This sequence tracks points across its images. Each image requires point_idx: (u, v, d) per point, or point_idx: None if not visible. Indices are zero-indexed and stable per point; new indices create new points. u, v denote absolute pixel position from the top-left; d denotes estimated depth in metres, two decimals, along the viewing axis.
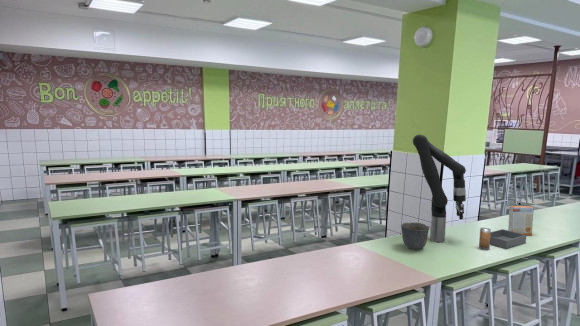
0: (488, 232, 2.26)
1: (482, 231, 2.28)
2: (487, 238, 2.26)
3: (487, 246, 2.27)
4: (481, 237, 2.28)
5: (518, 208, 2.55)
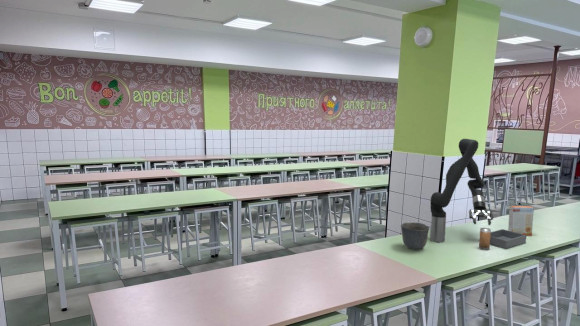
0: (488, 232, 2.26)
1: (482, 231, 2.28)
2: (487, 238, 2.26)
3: (487, 246, 2.27)
4: (481, 237, 2.28)
5: (518, 208, 2.55)
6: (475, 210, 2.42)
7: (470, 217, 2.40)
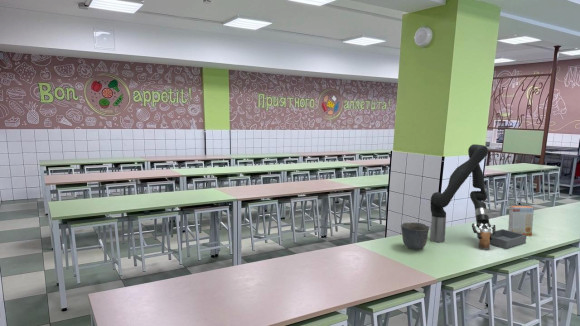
0: (488, 232, 2.26)
1: (482, 231, 2.28)
2: (487, 238, 2.26)
3: (487, 246, 2.27)
4: (481, 237, 2.28)
5: (518, 208, 2.55)
6: (478, 223, 2.34)
7: (474, 232, 2.32)
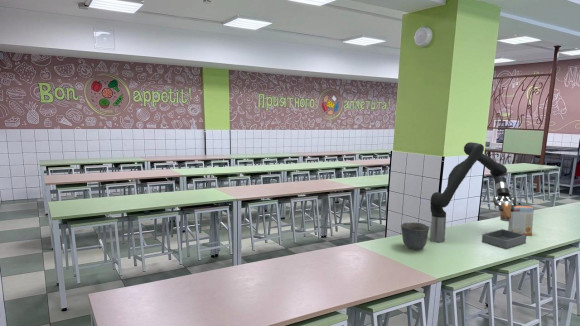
0: (509, 204, 2.35)
1: (503, 203, 2.37)
2: (508, 209, 2.36)
3: (508, 217, 2.37)
4: (502, 209, 2.38)
5: (518, 208, 2.55)
6: (499, 196, 2.43)
7: (496, 204, 2.41)
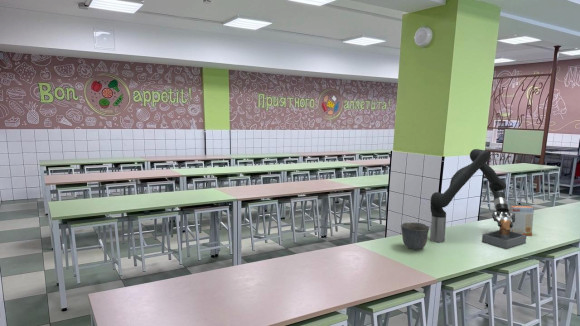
0: (508, 220, 2.37)
1: (502, 219, 2.38)
2: (507, 225, 2.37)
3: (507, 233, 2.38)
4: (501, 225, 2.39)
5: (518, 208, 2.55)
6: (498, 212, 2.45)
7: (495, 220, 2.43)
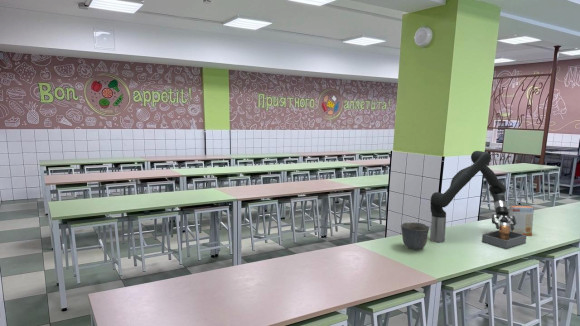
0: (507, 225, 2.38)
1: (502, 225, 2.39)
2: (507, 231, 2.38)
3: (507, 239, 2.38)
4: (501, 230, 2.40)
5: (518, 208, 2.55)
6: (498, 215, 2.45)
7: (493, 222, 2.44)
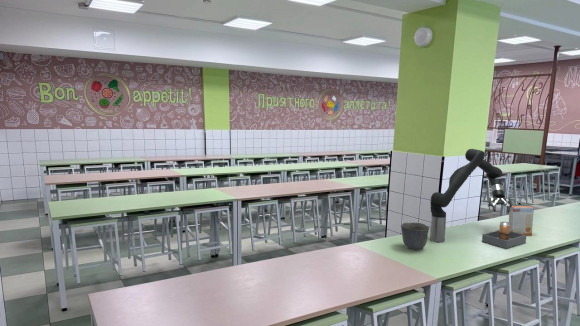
0: (508, 226, 2.37)
1: (502, 225, 2.39)
2: (507, 231, 2.38)
3: (507, 239, 2.38)
4: (501, 230, 2.40)
5: (518, 208, 2.55)
6: (494, 198, 2.54)
7: (490, 205, 2.52)
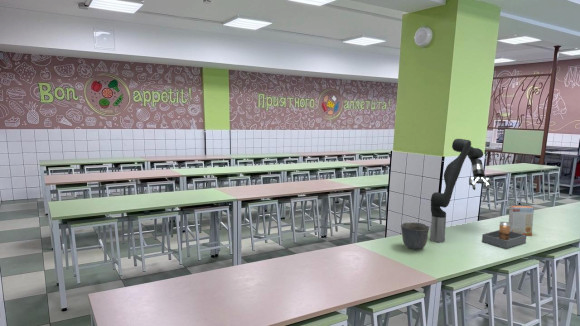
0: (508, 226, 2.37)
1: (502, 225, 2.39)
2: (507, 231, 2.38)
3: (507, 239, 2.38)
4: (501, 230, 2.40)
5: (518, 208, 2.55)
6: (474, 177, 2.58)
7: (470, 184, 2.57)
